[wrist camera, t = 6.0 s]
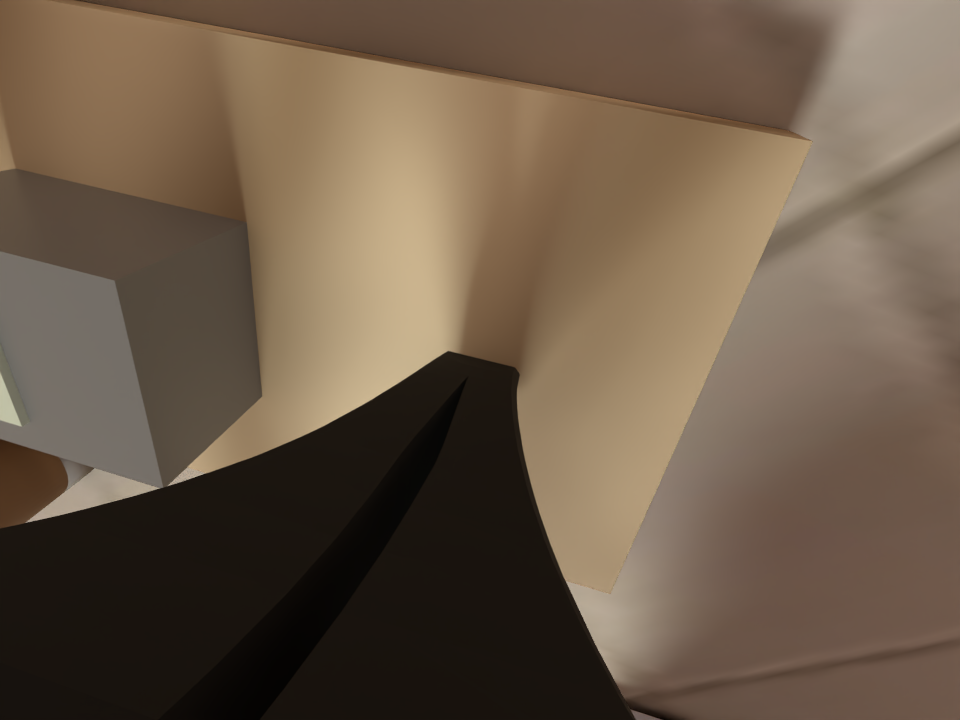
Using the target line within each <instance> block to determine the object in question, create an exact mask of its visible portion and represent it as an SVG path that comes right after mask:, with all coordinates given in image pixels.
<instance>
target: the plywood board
mask: <svg viewBox="0 0 960 720" xmlns="http://www.w3.org/2000/svg"><path fill="white" fill-rule="evenodd" d="M812 142H813V141H811V140H809V139H806V138H804V137H802V136H800V135H798V134H795V133H793V132H791V131H788V130H783V129H777V128H772V127H766V126H761V125H755V124H750V123H744V122H739V121H733V120H728V119H722V118H717V117H712V116H706V115H701V114H695V113H690V112H684V111H679V110H673V109H668V108H662V107H657V106H651V105H646V104H640V103H635V102H629V101H624V100H618V99H613V98H608V97H602V96H597V95H591V94H586V93H580V92H575V91H569V90H564V89H558V88H553V87H547V86H542V85H536V84H531V83H525V82H520V81H514V80H509V79H504V78H498V77H493V76H487V75H482V74H476V73H471V72H465V71H460V70H454V69H449V68H443V67H438V66H432V65H427V64H421V63H416V62H410V61H405V60H400V59H394V58H389V57H383V56H378V55H372V54H367V53H361V52H356V51H350V50H345V49H339V48H334V47H328V46H323V45H317V44H312V43H306V42H301V41H296V40H290V39H285V38H279V37H274V36H268V35H263V34H257V33H252V32H246V31H241V30H235V29H230V28H224V27H219V26H213V25H208V24H202V23H197V22H192V21H186V20H181V19H175V18H170V17H164V16H159V15H153V14H148V13H142V12H137V11H131V10H126V9H120V8H115V7H109V6H104V5H98V4H93V3H88V2H82V1H77V0H0V171H4V170H10V169H15V168H16V169H20V170H24V171H29V172H33V173H37V174H42V175H46V176H50V177H54V178H59V179H63V180H67V181H72V182H76V183H80V184H85V185H89V186H93V187H97V188H102V189H106V190H110V191H115V192H119V193H123V194H128V195H132V196H136V197H140V198H145V199H149V200H153V201H158V202H162V203H166V204H171V205H175V206H179V207H184V208H188V209H192V210H196V211H201V212H205V213H209V214H214V215H218V216H222V217H227V218H231V219H235V220H239V221H244V222H247V229H248V240H249V252H250V263H251V275H252V286H253V298H254V309H255V321H256V332H257V344H258V355H259V366H260V378H261V389H262V397H261V398H260V399H259V400H258V401H257V402H256V403H255V404H254V405H253V406H252V407H251V408H250V409H248V410H247V411H246V412H245V413H244V414H243V415H242V416H241V417H240V418H239V419H238V420H237V421H236V422H235V423H234V424H233V425H231V426H230V427H229V428H228V429H227V430H226V431H225V432H224V433H223V434H222V435H221V436H220V437H219V438H218V439H217V440H215V441H214V442H213V443H212V444H211V445H210V446H209V447H208V448H207V449H206V450H205V451H204V452H203V453H202V454H201V455H200V456H198V457H197V458H196V459H195V460H194V461H193V462H192V463H191V464H190V465H189V466H188V468H191V469H195V470H198V471H201V472H205V473H209V472H212V471H215V470H217V469H220V468H223V467H226V466H229V465H232V464H235V463H237V462H240V461H243V460H246V459H249V458H252V457H254V456H257V455H259V454H262V453H264V452H267V451H269V450H271V449H274V448H276V447H278V446H281V445H283V444H285V443H288V442H290V441H292V440H295V439H297V438H299V437H301V436H304V435H306V434H308V433H310V432H312V431H314V430H316V429H318V428H320V427H323V426H325V425H326V424H328V423H330V422H332V421H334V420H336V419H338V418H339V417H341V416H343V415H345V414H347V413H349V412H350V411H352V410H354V409H356V408H358V407H360V406H361V405H363V404H365V403H367V402H368V401H370V400H372V399H373V398H375V397H377V396H378V395H380V394H381V393H383V392H385V391H386V390H388V389H389V388H391V387H393V386H394V385H396V384H398V383H399V382H401V381H402V380H404V379H405V378H407V377H408V376H410V375H411V374H413V373H415V372H416V371H418V370H419V369H421V368H422V367H423V366H425V365H426V364H428V363H429V362H431V361H432V360H434V359H436V358H437V357H439V356H440V355H442V354H444V353H445V352H447V351H451V352H455V353H459V354H463V355H467V356H471V357H475V358H480V359H484V360H488V361H492V362H496V363H500V364H504V365H508V366H512V367H515V368H516V369H517V371H518V372H519V374H520V377H519V382H518V387H517V409H518V420H519V428H520V434H521V440H522V446H523V452H524V456H525V461H526V466H527V470H528V474H529V478H530V482H531V486H532V489H533V493H534V496H535V500H536V503H537V506H538V509H539V513H540V516H541V519H542V521H543V524H544V527H545V530H546V533H547V536H548V539H549V541H550V544H551V547H552V549H553V552H554V554H555V557H556V559H557V562H558V564H559V567H560V569H561V572H562V574H563V577H564V579H565V581H568V582H572V583H575V584H578V585H582V586H585V587H588V588H592V589H595V590H598V591H602V592H605V593H608V594H610V593H611V591H612V589H613V586H614V584H615V582H616V580H617V577H618V575H619V573H620V571H621V569H622V566H623V564H624V562H625V560H626V557H627V555H628V553H629V551H630V548H631V546H632V544H633V542H634V539H635V537H636V535H637V533H638V531H639V528H640V526H641V524H642V522H643V519H644V517H645V515H646V513H647V510H648V508H649V506H650V504H651V502H652V499H653V497H654V495H655V493H656V490H657V488H658V486H659V484H660V481H661V479H662V477H663V475H664V473H665V470H666V468H667V466H668V464H669V461H670V459H671V457H672V455H673V452H674V450H675V448H676V446H677V443H678V441H679V439H680V437H681V435H682V432H683V430H684V428H685V426H686V423H687V421H688V419H689V417H690V414H691V412H692V410H693V408H694V406H695V403H696V401H697V399H698V397H699V394H700V392H701V390H702V388H703V385H704V383H705V381H706V379H707V377H708V374H709V372H710V370H711V368H712V365H713V363H714V361H715V359H716V356H717V354H718V352H719V350H720V348H721V345H722V343H723V341H724V339H725V336H726V334H727V332H728V330H729V327H730V325H731V323H732V321H733V318H734V316H735V314H736V312H737V310H738V307H739V305H740V303H741V301H742V298H743V296H744V294H745V292H746V289H747V287H748V285H749V283H750V281H751V278H752V276H753V274H754V272H755V269H756V267H757V265H758V263H759V260H760V258H761V256H762V254H763V252H764V249H765V247H766V245H767V243H768V240H769V238H770V236H771V234H772V231H773V229H774V227H775V225H776V222H777V220H778V218H779V216H780V214H781V211H782V209H783V207H784V205H785V202H786V200H787V198H788V196H789V193H790V191H791V189H792V187H793V185H794V182H795V180H796V178H797V176H798V173H799V171H800V169H801V167H802V164H803V162H804V160H805V158H806V156H807V153H808V151H809V149H810V147H811V144H812Z"/></svg>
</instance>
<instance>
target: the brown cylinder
mask: <svg viewBox="0 0 960 720" xmlns="http://www.w3.org/2000/svg"><path fill="white" fill-rule="evenodd" d="M93 469H94V468H93V467H90V466H87V465H83V464H80V463H77V462H74V461H70V460H67V459H64V458H61V457H57V456H54V455H51V454H48V453H44V452H41V451H38V450H35V449H31V448H28V447H25V446H22V445H18V444H15V443H12V442H9V441H5V440H2V439H0V528H5V527H9V526H14V525H19V524H23V523H25V522H27V521H28V520H29V519H30V518H32V517H33V516H34V515H36V514H37V513H38V512H39V511H41V510H42V509H43V508H45V507H46V506H47V505H48V504H50V503H51V502H52V501H54V500H55V499H56V498H57V497H59V496H60V495H61V494H63V493H64V492H65V491H66V490H68V489H69V488H70V487H72V486H73V485H74V484H75V483H77V482H78V481H79V480H81V479H82V478H83V477H84V476H86V475H87V474H88V473H90V472H91V471H92V470H93Z"/></svg>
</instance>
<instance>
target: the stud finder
mask: <svg viewBox="0 0 960 720" xmlns="http://www.w3.org/2000/svg"><path fill="white" fill-rule="evenodd" d="M261 397H262V389H261V378H260V366H259V355H258V344H257V332H256V321H255V309H254V298H253V286H252V275H251V263H250V252H249V240H248V229H247V222H244V221H239V220H235V219H231V218H227V217H222V216H218V215H214V214H209V213H205V212H201V211H196V210H192V209H188V208H184V207H179V206H175V205H171V204H166V203H162V202H158V201H153V200H149V199H145V198H140V197H136V196H132V195H128V194H123V193H119V192H115V191H110V190H106V189H102V188H97V187H93V186H89V185H85V184H80V183H76V182H72V181H67V180H63V179H59V178H54V177H50V176H46V175H42V174H37V173H33V172H29V171H24V170H20V169H16V168H15V169H10V170H4V171H0V439H2V440H5V441H9V442H12V443H15V444H18V445H22V446H25V447H28V448H31V449H35V450H38V451H41V452H44V453H48V454H51V455H54V456H57V457H61V458H64V459H67V460H70V461H74V462H77V463H80V464H83V465H87V466H90V467H93V468H96V469H100V470H103V471H106V472H109V473H113V474H116V475H119V476H122V477H126V478H129V479H132V480H135V481H139V482H142V483H145V484H148V485H152V486H155V487H158V488H164V487H167V486H168V485H169V484H170V483H171V482H172V481H173V480H174V479H175V478H176V477H177V476H178V475H179V474H180V473H181V472H183V471H184V470H185V469H186V468H187V467H188V466H189V465H190V464H191V463H192V462H193V461H194V460H195V459H196V458H197V457H198V456H200V455H201V454H202V453H203V452H204V451H205V450H206V449H207V448H208V447H209V446H210V445H211V444H212V443H213V442H214V441H215V440H217V439H218V438H219V437H220V436H221V435H222V434H223V433H224V432H225V431H226V430H227V429H228V428H229V427H230V426H231V425H233V424H234V423H235V422H236V421H237V420H238V419H239V418H240V417H241V416H242V415H243V414H244V413H245V412H246V411H247V410H248V409H250V408H251V407H252V406H253V405H254V404H255V403H256V402H257V401H258V400H259V399H260V398H261Z"/></svg>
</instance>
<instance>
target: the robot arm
mask: <svg viewBox="0 0 960 720" xmlns="http://www.w3.org/2000/svg"><path fill="white" fill-rule="evenodd" d="M519 377H520V374H519V372H518V371H517V369H516V368H515V367H512V366H508V365H504V364H500V363H496V362H492V361H488V360H484V359H480V358H475V357H471V356H467V355H463V354H459V353H455V352H451V351H447V352H445V353H444V354H442V355H440V356H439V357H437V358H436V359H434V360H432V361H431V362H429V363H428V364H426V365H425V366H423V367H422V368H421V369H419V370H418V371H416V372H415V373H413V374H411V375H410V376H408V377H407V378H405V379H404V380H402V381H401V382H399V383H398V384H396V385H394V386H393V387H391V388H389V389H388V390H386V391H385V392H383V393H381V394H380V395H378V396H377V397H375V398H373V399H372V400H370V401H368V402H367V403H365V404H363V405H361V406H360V407H358V408H356V409H354V410H352V411H350V412H349V413H347V414H345V415H343V416H341V417H339V418H338V419H336V420H334V421H332V422H330V423H328V424H326V425H325V426H323V427H320V428H318V429H316V430H314V431H312V432H310V433H308V434H306V435H304V436H301V437H299V438H297V439H295V440H292V441H290V442H288V443H285V444H283V445H281V446H278V447H276V448H274V449H271V450H269V451H267V452H264V453H262V454H259V455H257V456H254V457H252V458H249V459H246V460H243V461H240V462H237V463H235V464H232V465H229V466H226V467H223V468H220V469H217V470H215V471H212V472H209V473H206V474H203V475H200V476H197V477H195V478H192V479H189V480H186V481H183V482H180V483H177V484H174V485H170V486H167V487H164V488H160V489H157V490H153V491H150V492H147V493H143V494H140V495H136V496H133V497H129V498H126V499H122V500H118V501H114V502H111V503H107V504H103V505H99V506H96V507H92V508H88V509H84V510H80V511H76V512H72V513H68V514H64V515H60V516H55V517H51V518H46V519H42V520H37V521H32V522H28V523H23V524H19V525H14V526H9V527H5V528H0V720H662V719H659V718H656V717H652V716H649V715H646V714H643V713H640V712H637V711H634V710H631V709H630V708H629V706H628V705H627V703H626V701H625V699H624V698H623V696H622V694H621V692H620V690H619V688H618V686H617V685H616V683H615V681H614V679H613V677H612V675H611V673H610V671H609V670H608V668H607V666H606V664H605V662H604V660H603V658H602V656H601V654H600V653H599V651H598V649H597V647H596V645H595V643H594V641H593V639H592V637H591V635H590V632H589V630H588V628H587V626H586V624H585V622H584V620H583V617H582V615H581V613H580V611H579V609H578V607H577V605H576V602H575V600H574V598H573V596H572V594H571V592H570V590H569V587H568V585H567V583H566V581H565V579H564V577H563V574H562V572H561V569H560V567H559V564H558V562H557V559H556V557H555V554H554V552H553V549H552V547H551V544H550V541H549V539H548V536H547V533H546V530H545V527H544V524H543V521H542V519H541V516H540V513H539V509H538V506H537V503H536V500H535V496H534V493H533V489H532V486H531V482H530V478H529V474H528V470H527V466H526V461H525V456H524V452H523V446H522V440H521V434H520V428H519V420H518V409H517V387H518V382H519Z"/></svg>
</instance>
